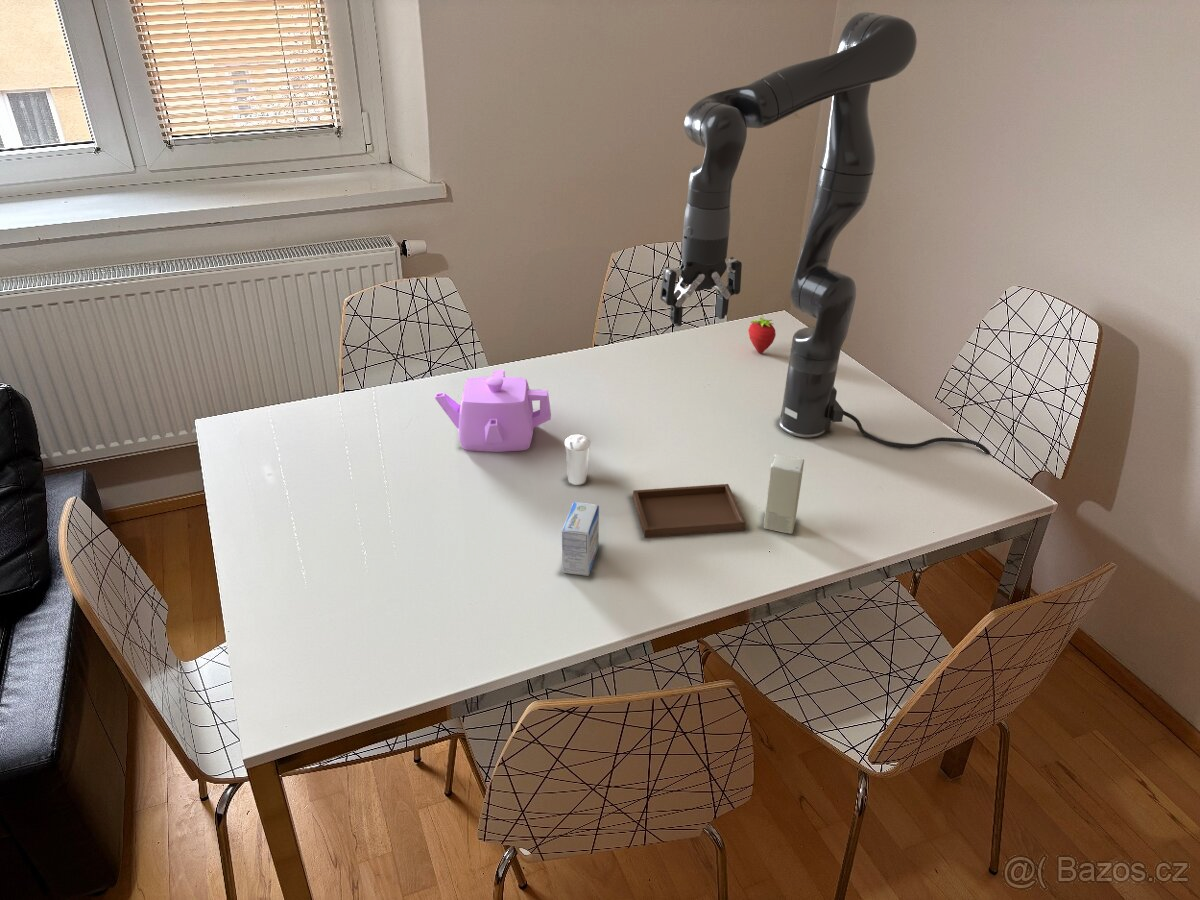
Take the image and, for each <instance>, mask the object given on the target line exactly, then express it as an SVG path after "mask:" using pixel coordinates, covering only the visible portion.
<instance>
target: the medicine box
mask: <svg viewBox="0 0 1200 900" xmlns="http://www.w3.org/2000/svg"><path fill="white" fill-rule="evenodd" d="M560 537H561V538H560V539H561V571H562V573H563V574H564V573H565V574H569V575H570V574H571V575H578V576H585V577H586V576H587V577H589V576H590V575H591V574H590V573H591V570H592V567H593V564H594V561H595V558H596V555H597V552H598V549H599V545H600V543H599V542H600V540H599V539H600V505H598V504H595V503H587V502H580V501H579V502H578V501H573V502H572V504H571V507H570V511H569V513H568V515H567V517H566V519H565V522H564V525H563V527H562V530H561V535H560Z"/></svg>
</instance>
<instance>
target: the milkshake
mask: <svg viewBox="0 0 1200 900" xmlns="http://www.w3.org/2000/svg"><path fill="white" fill-rule="evenodd" d="M590 449H591V440H590V439H589V438H588V437H587V436H586V435H584V434H583V435H582V434H571V435H569V436H568V437H567V438H565V440H564V450H565V459H566V471H567V481H568V482H569V484H571V485H573V486H580V485H584V484H585V483H586V481H587V478H588V477H587V476H588V468H589V467H588V466H589V457H590Z"/></svg>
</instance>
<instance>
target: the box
mask: <svg viewBox="0 0 1200 900" xmlns="http://www.w3.org/2000/svg"><path fill="white" fill-rule="evenodd" d="M804 465H805V459H804V458H801V457H800V458H799V457H794V456H789V455H783V454H778V453H777V454H776V453H775V454H774V456H773V459H772V461H771V463H770V469H769V478H768V487H767V495H766V503H765V512H764V519H763V529H765V530H770V531H776V532H778V533H779V532H780V533H784V534H789V535H792V534H793V532H794V529H795V526H796V521H797V514H798V513H797V512H798V506H799V500H800V493H801V486H802V480H803V472H804Z"/></svg>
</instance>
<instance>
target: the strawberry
mask: <svg viewBox="0 0 1200 900" xmlns="http://www.w3.org/2000/svg"><path fill="white" fill-rule="evenodd" d="M760 315H761V317H759V320H754V319H753V320H751V321H750V324H749V328H748V336H749V341H750V342H751V344H752V346H753V348H754V349H755V350H756V352H757V354H759V355H760V354H763V353H764V352H765V351H766V350H768V349H769V347H771V345H772V344H773V343H774V341H775V338H776V336H777V333H776V329H775V327H774V326H773V325H774V323H773V322H771V321H773V319H765V318H764V315H763V314H761V313H760Z"/></svg>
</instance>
